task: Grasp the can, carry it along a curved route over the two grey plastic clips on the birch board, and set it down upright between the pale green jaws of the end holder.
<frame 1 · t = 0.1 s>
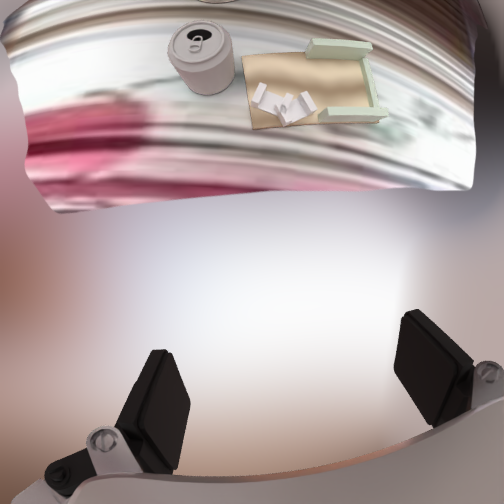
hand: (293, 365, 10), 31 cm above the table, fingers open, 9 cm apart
end holder: (338, 87, 34), resting on route board
clip a: (270, 105, 35), resting on route board
can: (210, 75, 34), on the table
route board: (312, 87, 34), on the table
clip b: (292, 112, 35), resting on route board
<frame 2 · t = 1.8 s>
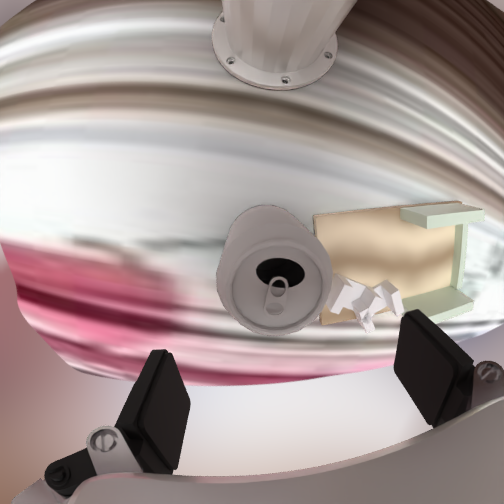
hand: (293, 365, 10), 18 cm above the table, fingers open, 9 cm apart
end holder: (425, 253, 28), resting on route board
clip a: (344, 289, 28), resting on route board
can: (265, 241, 27), on the table
route board: (397, 258, 28), on the table
clip b: (368, 296, 29), resting on route board
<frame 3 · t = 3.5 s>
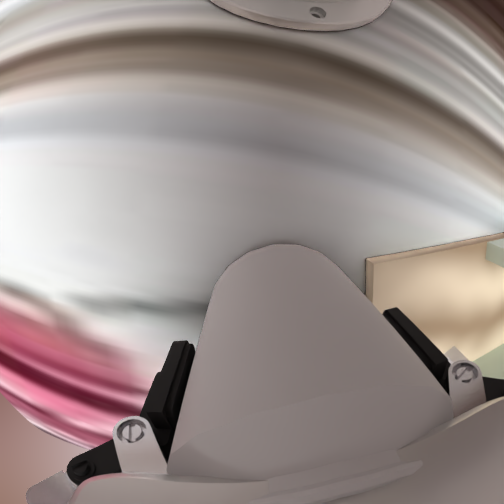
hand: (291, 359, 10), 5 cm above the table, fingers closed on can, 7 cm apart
end holder: (498, 300, 15), resting on route board
can: (279, 305, 15), on the table, touching gripper
route board: (469, 313, 15), on the table
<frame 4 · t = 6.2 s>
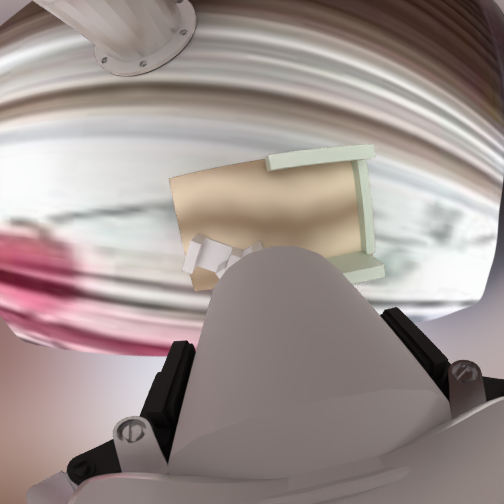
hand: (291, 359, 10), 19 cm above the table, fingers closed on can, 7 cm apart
end holder: (317, 211, 27), resting on route board
clip a: (216, 252, 28), resting on route board
can: (279, 306, 15), point 14 cm above the table, touching gripper
route board: (276, 217, 27), on the table
clip b: (247, 261, 29), resting on route board
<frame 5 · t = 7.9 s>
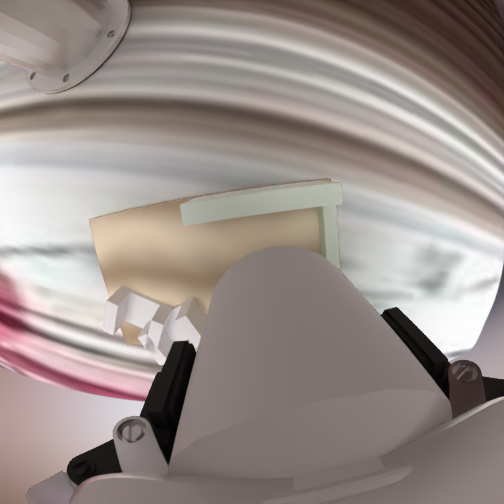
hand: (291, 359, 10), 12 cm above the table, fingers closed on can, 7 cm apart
end holder: (267, 262, 22), resting on route board
clip a: (146, 305, 23), resting on route board
can: (279, 306, 15), point 7 cm above the table, touching gripper
route board: (214, 269, 22), on the table
clip b: (181, 317, 23), resting on route board
when the fingers open (7 cm above the table, at t = 9.4 s): can drops 1 cm, resting on route board.
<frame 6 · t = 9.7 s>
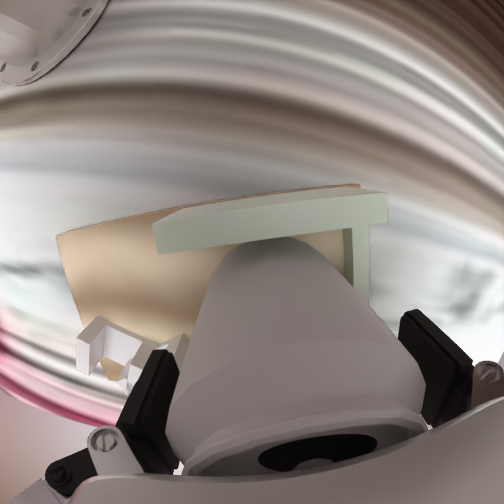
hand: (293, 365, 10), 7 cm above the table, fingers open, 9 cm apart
end holder: (275, 290, 17), resting on route board
clip a: (128, 338, 18), resting on route board
can: (272, 293, 16), point 1 cm above the table, touching route board
route board: (208, 299, 17), on the table
clip b: (170, 353, 18), resting on route board
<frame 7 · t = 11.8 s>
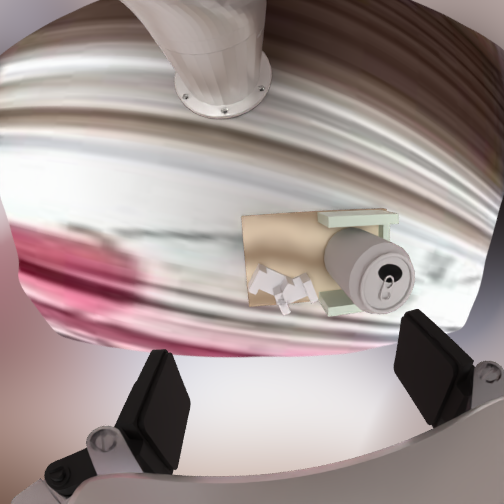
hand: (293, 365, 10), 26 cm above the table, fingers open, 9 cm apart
end holder: (348, 253, 36), resting on route board
clip a: (269, 278, 36), resting on route board
can: (348, 253, 35), point 1 cm above the table, touching route board
route board: (318, 256, 36), on the table
clip b: (292, 286, 37), resting on route board
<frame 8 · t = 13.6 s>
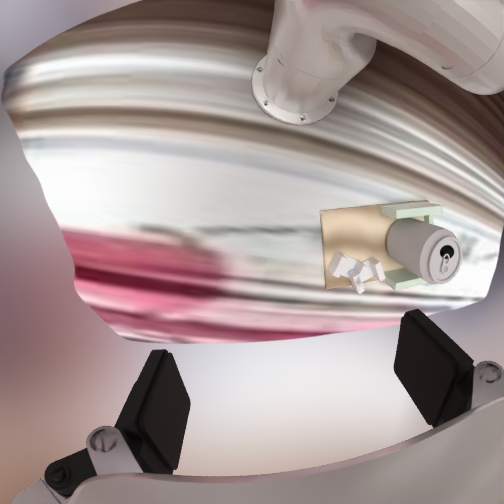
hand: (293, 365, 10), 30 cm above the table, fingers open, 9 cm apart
end holder: (401, 238, 40), resting on route board
clip a: (342, 263, 41), resting on route board
can: (402, 238, 39), point 1 cm above the table, touching route board
route board: (380, 242, 40), on the table
clip b: (359, 269, 41), resting on route board
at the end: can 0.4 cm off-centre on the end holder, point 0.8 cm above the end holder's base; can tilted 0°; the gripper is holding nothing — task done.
